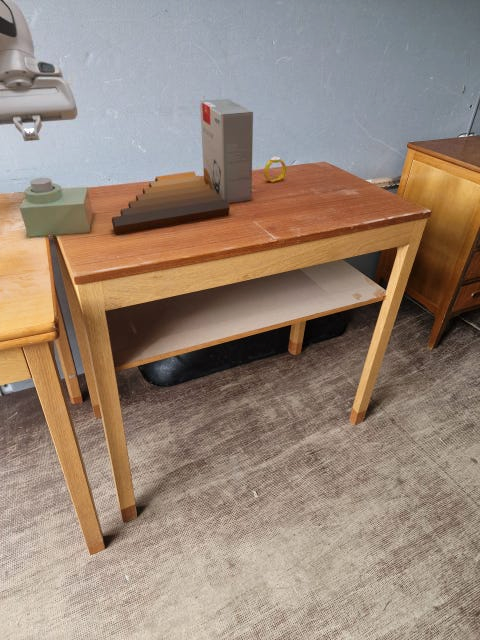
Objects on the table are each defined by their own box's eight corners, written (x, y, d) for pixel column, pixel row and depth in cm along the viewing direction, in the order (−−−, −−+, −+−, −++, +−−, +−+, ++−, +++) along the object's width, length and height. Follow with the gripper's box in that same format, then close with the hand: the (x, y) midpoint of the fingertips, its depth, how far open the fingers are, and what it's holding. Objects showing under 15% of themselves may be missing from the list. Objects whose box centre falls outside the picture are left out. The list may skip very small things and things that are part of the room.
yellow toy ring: (281, 177, 120) (282, 155, 116) (287, 180, 118) (288, 157, 114) (262, 181, 118) (263, 158, 114) (267, 184, 116) (268, 161, 112)
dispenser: (28, 237, 90) (16, 198, 85) (36, 218, 97) (26, 181, 93) (89, 232, 91) (81, 194, 87) (92, 213, 99) (85, 178, 95)
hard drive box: (203, 184, 116) (199, 100, 104) (230, 180, 118) (229, 98, 106) (222, 205, 104) (220, 113, 92) (252, 200, 106) (254, 110, 94)
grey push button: (31, 194, 88) (28, 184, 87) (34, 188, 91) (31, 178, 90) (52, 193, 88) (49, 183, 87) (55, 186, 92) (52, 177, 90)
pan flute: (116, 236, 90) (229, 216, 98) (114, 220, 88) (229, 201, 96) (96, 196, 108) (192, 182, 117) (93, 182, 106) (192, 169, 115)
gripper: (-44, 69, 85) (-31, 134, 84) (67, 65, 91) (81, 125, 90) (-33, 91, 91) (-21, 152, 90) (70, 86, 97) (83, 143, 96)
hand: (31, 139), depth 90 cm, fingers closed
